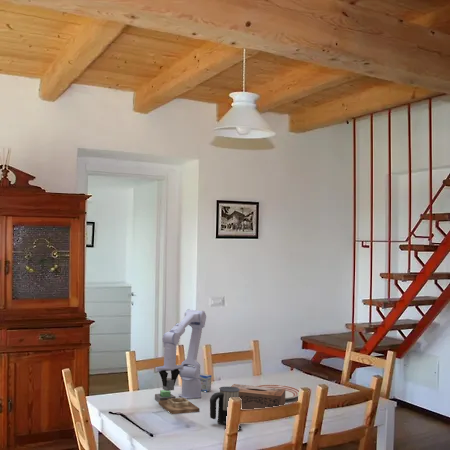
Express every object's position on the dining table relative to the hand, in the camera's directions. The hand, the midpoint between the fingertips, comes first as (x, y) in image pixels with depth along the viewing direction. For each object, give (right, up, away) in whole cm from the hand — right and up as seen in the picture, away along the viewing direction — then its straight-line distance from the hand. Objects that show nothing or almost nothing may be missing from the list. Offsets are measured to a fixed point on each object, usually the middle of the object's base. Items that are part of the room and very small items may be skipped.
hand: (168, 385), depth 279 cm
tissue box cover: (+42, -12, -2) cm, 43 cm away
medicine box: (+15, -12, +32) cm, 37 cm away
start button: (-3, -7, +8) cm, 12 cm away
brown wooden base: (+5, -10, -4) cm, 11 cm away
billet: (0, -2, 0) cm, 2 cm away
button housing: (-3, -10, +8) cm, 13 cm away
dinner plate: (+53, -14, +27) cm, 61 cm away
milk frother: (+29, -10, -28) cm, 41 cm away
